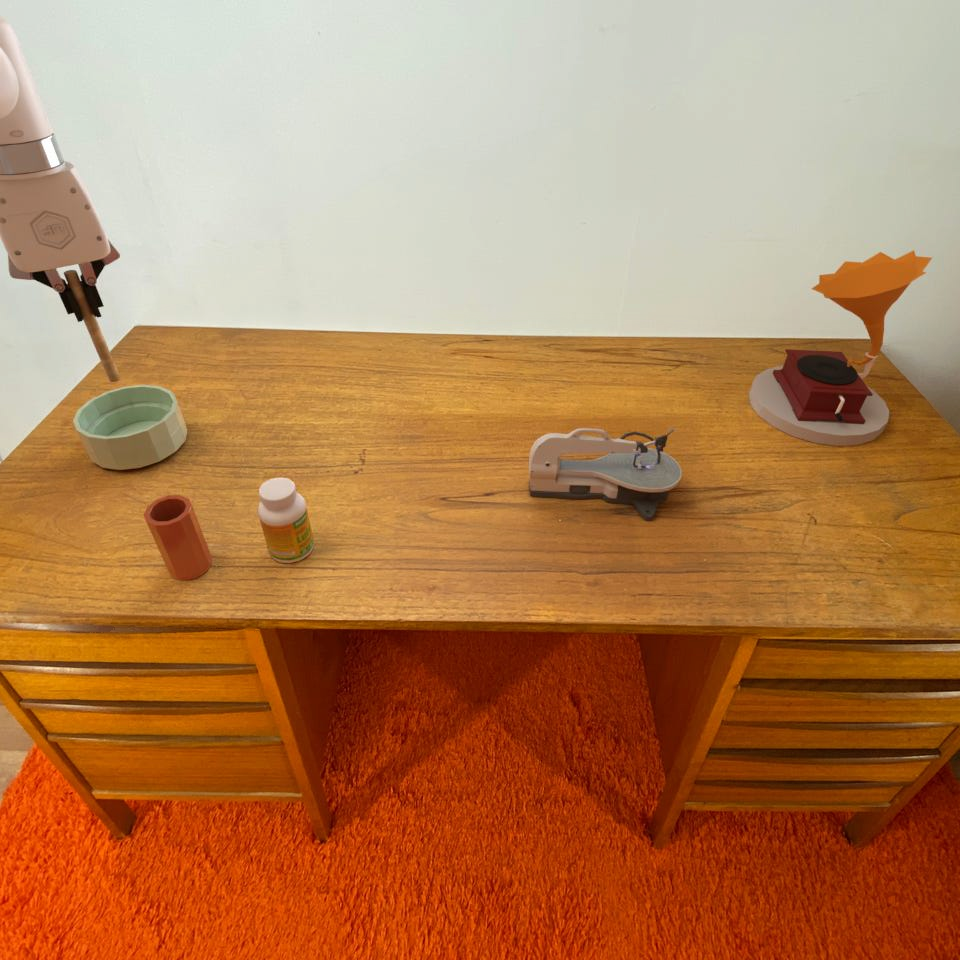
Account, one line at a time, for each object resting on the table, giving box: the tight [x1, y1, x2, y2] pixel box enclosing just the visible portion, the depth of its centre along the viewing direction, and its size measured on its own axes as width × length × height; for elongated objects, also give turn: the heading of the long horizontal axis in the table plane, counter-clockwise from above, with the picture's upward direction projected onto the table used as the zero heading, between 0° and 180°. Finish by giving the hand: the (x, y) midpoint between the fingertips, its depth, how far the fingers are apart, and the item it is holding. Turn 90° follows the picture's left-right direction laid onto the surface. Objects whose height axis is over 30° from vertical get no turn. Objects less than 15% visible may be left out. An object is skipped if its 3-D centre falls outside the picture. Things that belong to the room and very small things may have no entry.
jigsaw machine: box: [528, 427, 683, 522], centre depth 84 cm, size 20×11×12 cm
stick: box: [63, 269, 121, 383], centre depth 81 cm, size 1×1×15 cm
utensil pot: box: [143, 494, 213, 581], centre depth 73 cm, size 5×5×9 cm
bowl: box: [72, 384, 189, 471], centre depth 91 cm, size 13×13×6 cm
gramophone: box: [748, 250, 933, 447], centre depth 95 cm, size 20×20×25 cm
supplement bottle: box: [257, 477, 315, 564], centre depth 75 cm, size 5×5×10 cm
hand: (87, 314), depth 80 cm, fingers closed on stick, 1 cm apart
